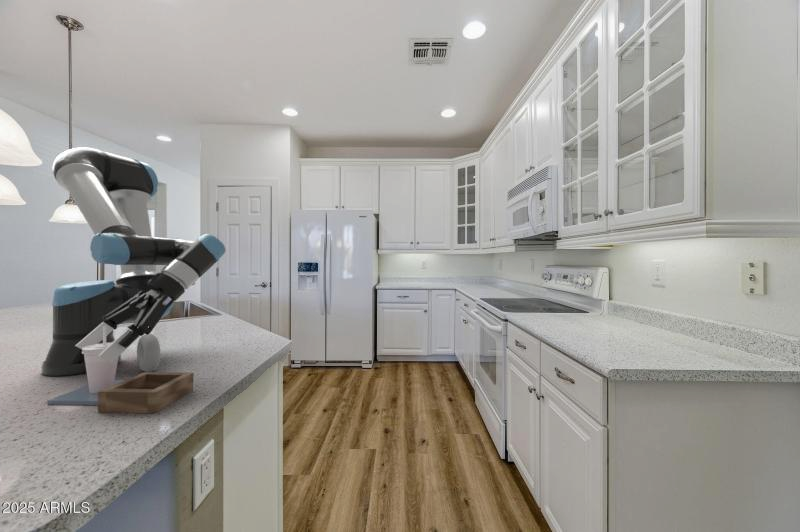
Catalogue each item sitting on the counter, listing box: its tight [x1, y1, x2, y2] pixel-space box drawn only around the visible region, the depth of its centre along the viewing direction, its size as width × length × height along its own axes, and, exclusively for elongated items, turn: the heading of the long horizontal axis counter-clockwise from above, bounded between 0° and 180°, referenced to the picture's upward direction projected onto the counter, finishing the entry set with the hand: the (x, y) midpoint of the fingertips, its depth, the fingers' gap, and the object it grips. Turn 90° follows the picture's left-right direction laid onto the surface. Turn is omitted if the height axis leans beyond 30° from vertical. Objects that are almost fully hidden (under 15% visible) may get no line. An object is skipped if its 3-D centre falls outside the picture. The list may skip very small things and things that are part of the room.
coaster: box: [46, 379, 123, 406], centre depth 68 cm, size 11×11×1 cm
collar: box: [97, 371, 194, 414], centre depth 65 cm, size 11×11×4 cm
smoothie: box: [82, 326, 119, 393], centre depth 68 cm, size 6×6×14 cm
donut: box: [136, 333, 162, 373], centre depth 82 cm, size 10×4×10 cm, turn 53°
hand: (92, 354), depth 66 cm, fingers open, 13 cm apart
